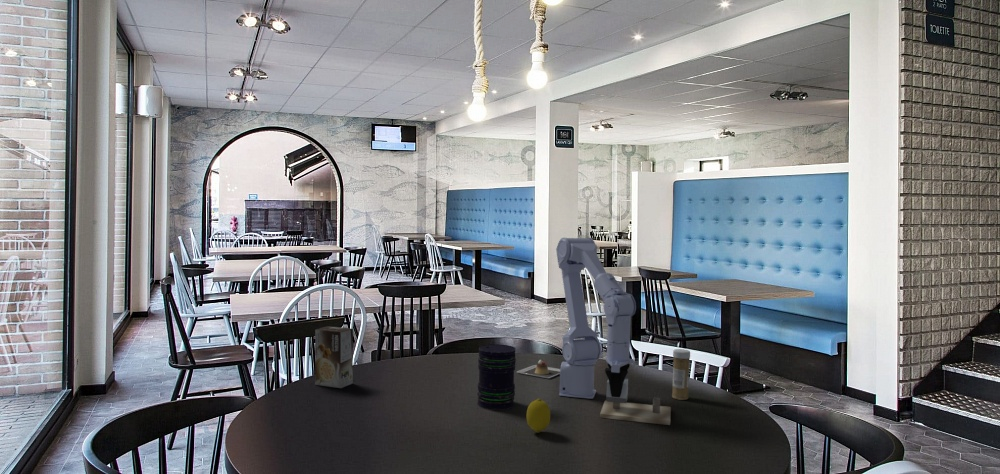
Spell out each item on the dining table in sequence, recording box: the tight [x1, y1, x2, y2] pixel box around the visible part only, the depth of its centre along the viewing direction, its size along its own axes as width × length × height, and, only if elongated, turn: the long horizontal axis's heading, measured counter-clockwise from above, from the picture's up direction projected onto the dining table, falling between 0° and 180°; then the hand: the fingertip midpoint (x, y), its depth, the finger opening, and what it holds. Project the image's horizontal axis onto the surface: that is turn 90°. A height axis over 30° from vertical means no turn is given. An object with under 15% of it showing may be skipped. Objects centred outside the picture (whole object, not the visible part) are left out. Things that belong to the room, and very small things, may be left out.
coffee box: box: [314, 325, 354, 389], centre depth 187 cm, size 9×6×16 cm
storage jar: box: [477, 343, 517, 411], centre depth 172 cm, size 10×10×15 cm
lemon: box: [526, 398, 551, 434], centre depth 151 cm, size 6×6×8 cm
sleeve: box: [605, 378, 629, 403], centre depth 168 cm, size 5×5×5 cm
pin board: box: [599, 397, 672, 426], centre depth 167 cm, size 17×12×4 cm
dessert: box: [516, 359, 560, 380], centre depth 207 cm, size 12×12×5 cm
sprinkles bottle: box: [671, 348, 691, 401], centre depth 182 cm, size 5×5×14 cm
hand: (616, 393), depth 168 cm, fingers closed on sleeve, 5 cm apart
